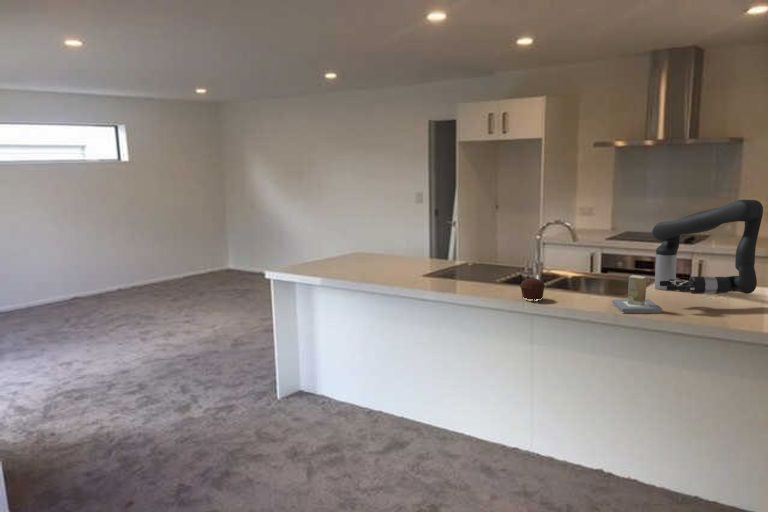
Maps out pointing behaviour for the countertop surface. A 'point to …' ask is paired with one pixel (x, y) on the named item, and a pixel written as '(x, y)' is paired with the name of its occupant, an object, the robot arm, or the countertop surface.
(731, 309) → the countertop surface
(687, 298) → the countertop surface
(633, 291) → the skincare box
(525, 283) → the muffin
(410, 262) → the countertop surface
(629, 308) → the plate
